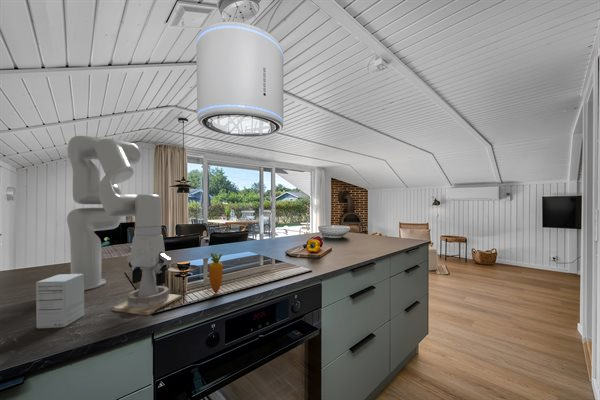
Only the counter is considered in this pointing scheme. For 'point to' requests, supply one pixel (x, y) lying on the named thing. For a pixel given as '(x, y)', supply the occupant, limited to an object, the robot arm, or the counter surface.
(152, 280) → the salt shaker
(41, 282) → the supplement box
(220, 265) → the carrot
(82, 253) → the robot arm
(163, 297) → the ring holder
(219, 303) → the counter surface
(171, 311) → the counter surface
